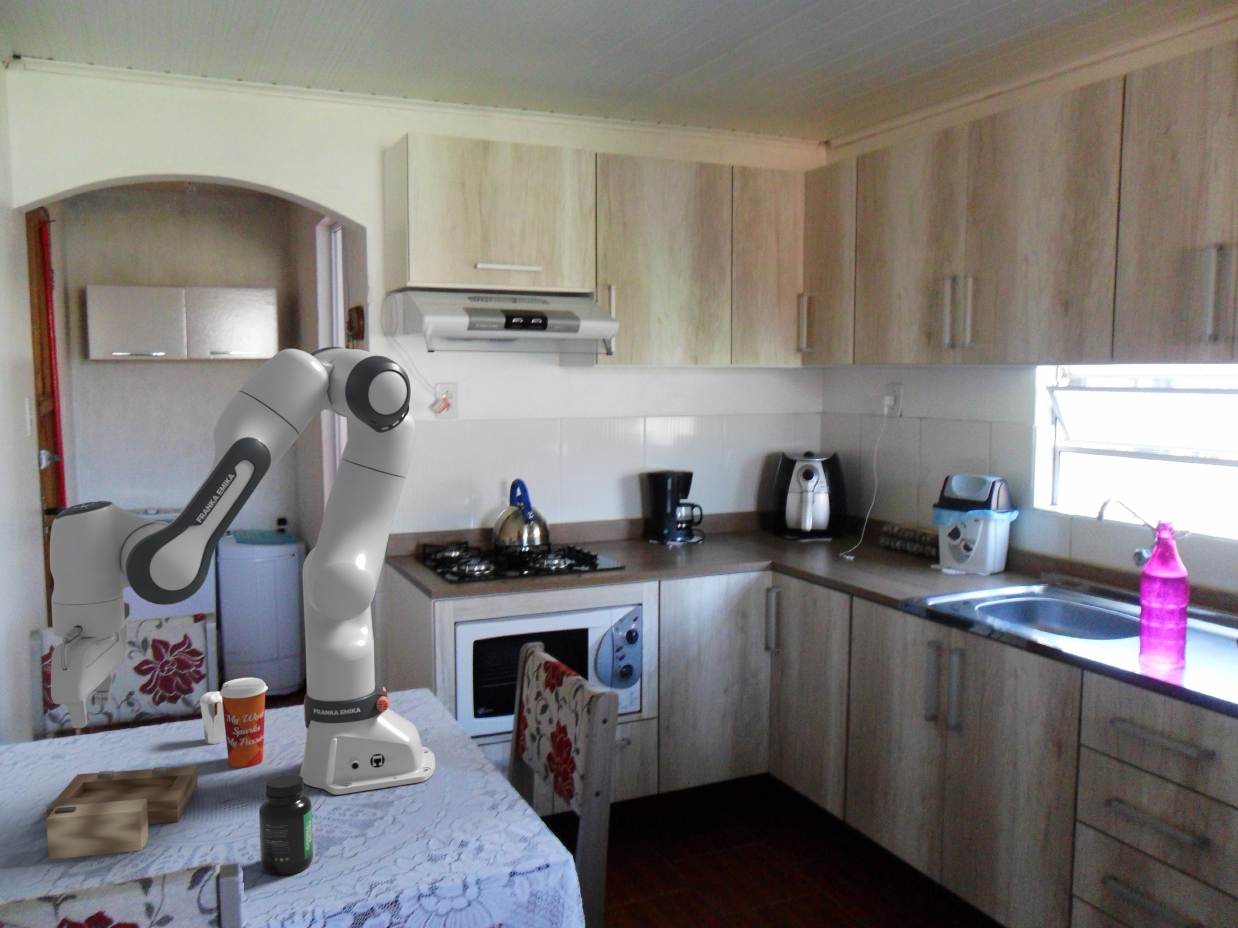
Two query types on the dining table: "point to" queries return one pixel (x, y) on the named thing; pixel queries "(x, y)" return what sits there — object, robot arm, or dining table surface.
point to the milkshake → (213, 717)
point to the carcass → (135, 790)
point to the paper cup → (244, 720)
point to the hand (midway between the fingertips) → (92, 714)
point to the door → (97, 828)
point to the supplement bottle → (285, 827)
